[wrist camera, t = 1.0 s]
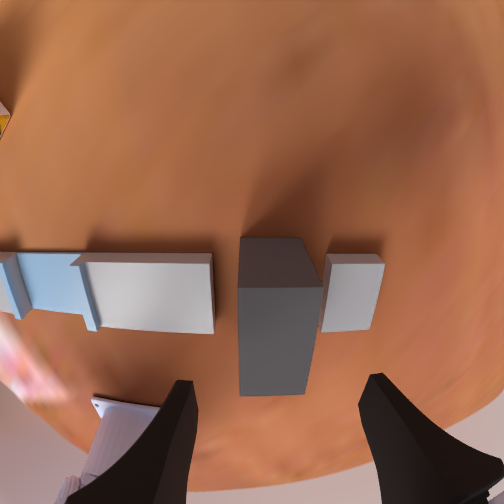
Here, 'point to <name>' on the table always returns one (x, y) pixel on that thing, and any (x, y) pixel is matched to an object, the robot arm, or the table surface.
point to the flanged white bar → (165, 289)
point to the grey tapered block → (276, 316)
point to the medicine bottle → (3, 118)
